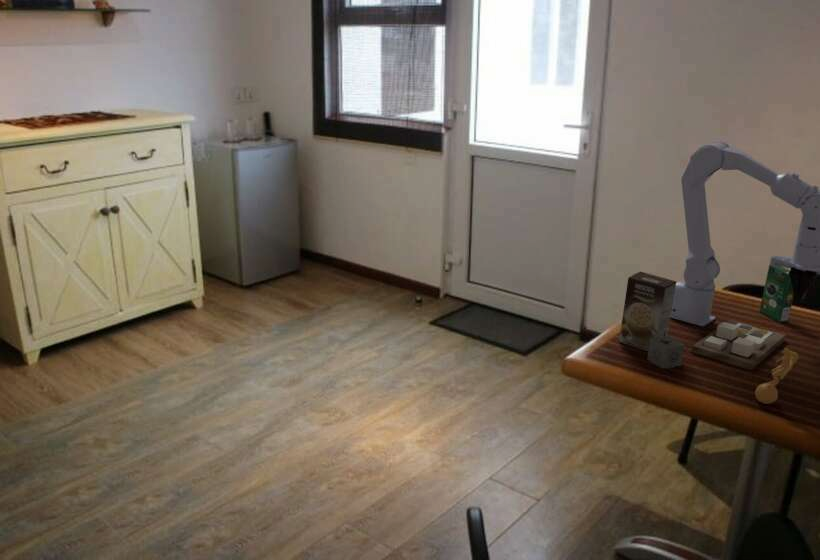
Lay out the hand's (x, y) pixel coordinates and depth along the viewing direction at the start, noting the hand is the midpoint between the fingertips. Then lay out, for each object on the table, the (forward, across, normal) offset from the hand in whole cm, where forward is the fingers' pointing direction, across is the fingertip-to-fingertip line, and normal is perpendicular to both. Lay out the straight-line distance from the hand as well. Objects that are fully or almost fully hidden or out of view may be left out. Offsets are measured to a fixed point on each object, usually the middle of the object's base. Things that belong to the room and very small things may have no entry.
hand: (797, 301), depth 168 cm
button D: (+9, -4, -19) cm, 21 cm away
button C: (+10, -11, -19) cm, 24 cm away
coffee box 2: (+11, -8, +15) cm, 20 cm away
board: (+10, -8, -12) cm, 17 cm away
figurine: (+11, +7, -36) cm, 38 cm away
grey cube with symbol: (+11, -16, -33) cm, 38 cm away
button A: (+9, -11, -12) cm, 18 cm away
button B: (+10, -5, -12) cm, 16 cm away
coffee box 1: (+11, -24, -27) cm, 38 cm away
